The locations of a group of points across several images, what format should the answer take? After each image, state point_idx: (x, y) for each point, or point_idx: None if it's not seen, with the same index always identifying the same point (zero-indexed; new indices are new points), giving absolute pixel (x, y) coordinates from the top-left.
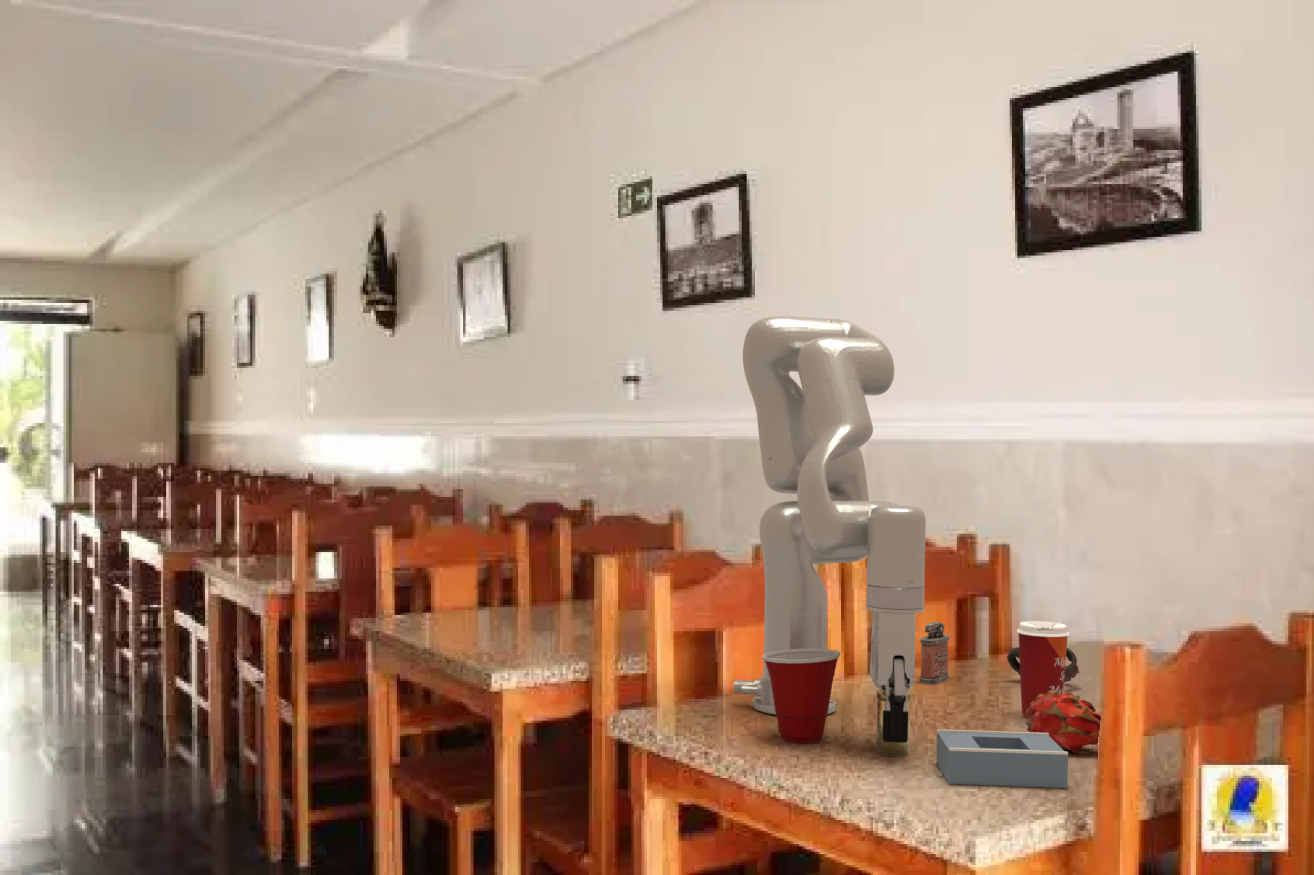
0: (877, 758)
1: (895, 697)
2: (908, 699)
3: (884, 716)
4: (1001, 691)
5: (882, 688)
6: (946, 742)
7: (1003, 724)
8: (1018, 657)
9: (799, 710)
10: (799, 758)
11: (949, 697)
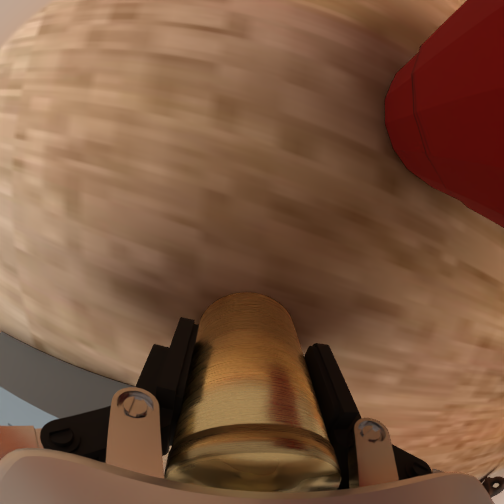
0: (175, 271)
1: (6, 427)
2: None
3: (161, 373)
4: (481, 469)
5: (355, 472)
6: (17, 399)
7: None
8: (495, 488)
9: (429, 49)
10: (200, 31)
11: (500, 437)
